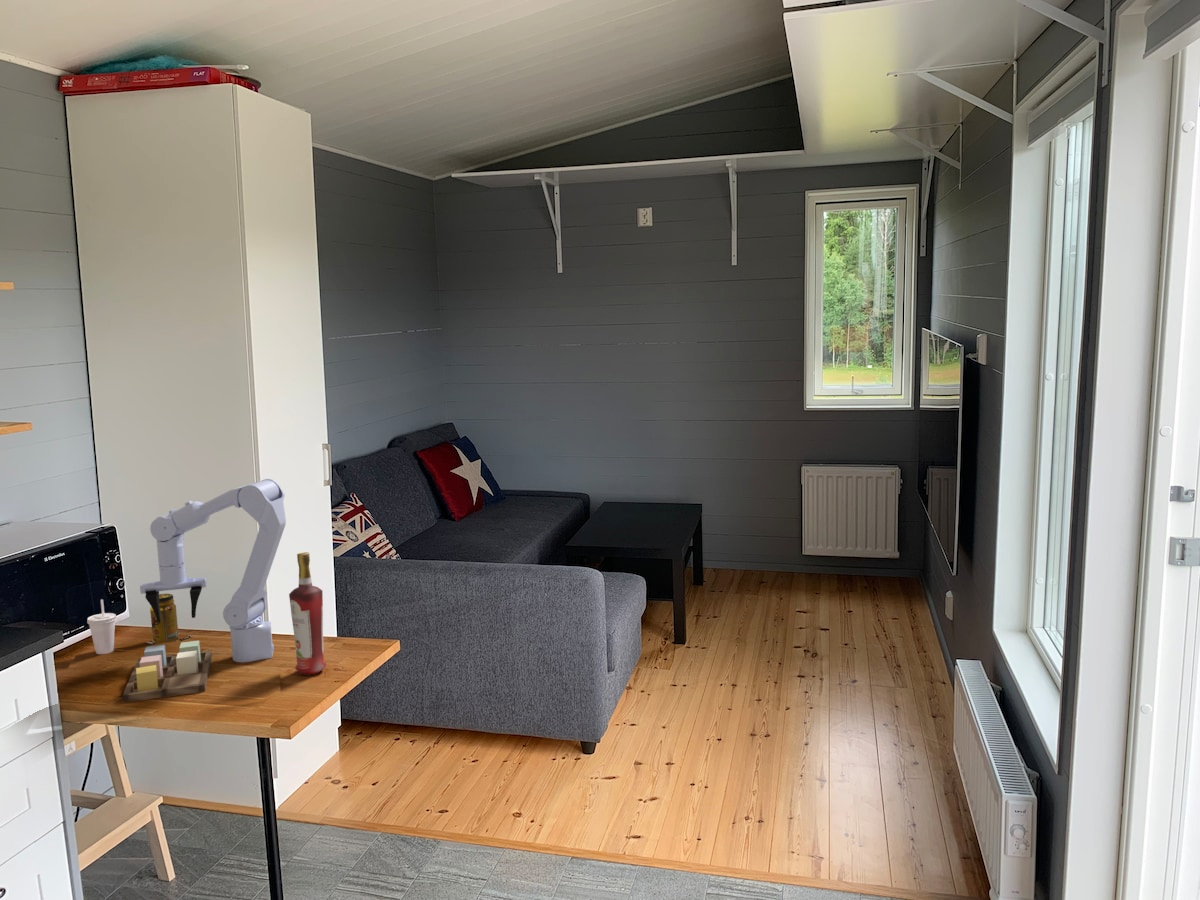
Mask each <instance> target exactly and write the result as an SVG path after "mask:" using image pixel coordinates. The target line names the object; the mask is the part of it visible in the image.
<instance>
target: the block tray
mask: <svg viewBox="0 0 1200 900" xmlns="http://www.w3.org/2000/svg"><path fill="white" fill-rule="evenodd" d="M177 654H178V653H177ZM177 654H171V655H166V662H167V666H162V669H163V677H158V678H157V680H158V689H154V690H146V691H139V692H138V688H137V677H136V668H140V661H141V658H138V659H137V661H136V663H135V666H134V668H133V669H132V670H133V671H132V672H131V675H130V677H129V680H128V682H127V684H126V686H125V689H124V691H123V694H122V703H128V702H138V701H143V700H144V701H145V700H151V699H152V700H153V699H160V698H166V697H167V698H168V697H175V696H182V695H183V696H184V695H189V694H196V693H197V694H198V693H203V692H206V688H207V684H208V678H209V675H210V669H211V664H212V658H213V650H212V649H210V650H203V651H201V650H200V655H201V662H198V672H197V673H190V674H182V675H177V663H176V657H177Z"/></svg>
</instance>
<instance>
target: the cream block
mask: <svg viewBox="0 0 1200 900" xmlns="http://www.w3.org/2000/svg"><path fill="white" fill-rule="evenodd" d="M176 663H177V675H182V674H190V673H197V672H198V660H197V651H189V652H180V651H179V652H177V657H176Z"/></svg>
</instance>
